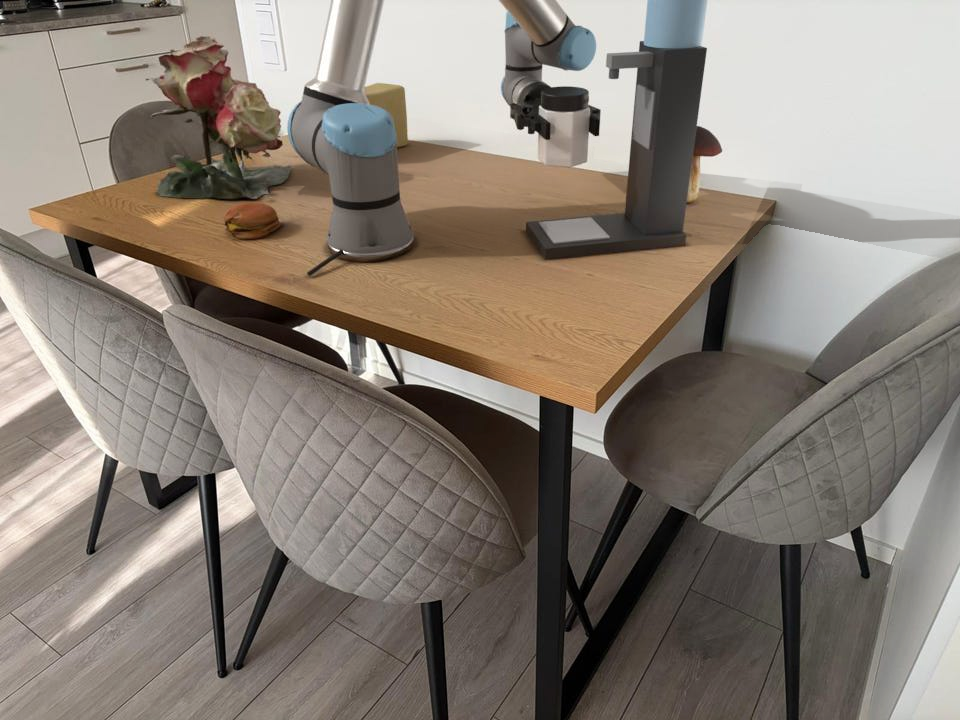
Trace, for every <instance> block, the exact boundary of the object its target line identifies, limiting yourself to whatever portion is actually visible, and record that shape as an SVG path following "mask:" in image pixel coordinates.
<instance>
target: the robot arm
mask: <svg viewBox="0 0 960 720" xmlns="http://www.w3.org/2000/svg"><path fill="white" fill-rule="evenodd" d="M384 2H385V0H331V1H330V5H329V9H328V14H327V19H326V25H325V30H324V33H323V34H324V35H323V39H322V44H321V50H320V54H319V60H318V64H317V69H316V74H315V77H314V78H312V79H311V80H309V81H307V82H306V83H304V87H303V92H302V97H301V100H300V101H299V102H298V103H297V104H296V105H294V107H293V108H292V110H291V112H290V114H289V116H288V120H287V127H286V128H287V129H286V130H287V137H288V140H289V142H290V145H291V147H292V148H293V150H294V151H295V153H296V154H297V155H298V156H300V158H301V159H302V160H303V161H304V162H305V163H306V164H308V165H310V166H311V167H314V168H316V169H318V170H320V171H322V172H323V173H325V174H327V175H328V177H329V183H330V184H329V185H330V192H331V200H332V211H331V215H330V216H331V217H330V221H329V230H328V232H327V238H326V243H327V249H328V252H329V254H331V255H330V256H329V257H327V258H326V259H324V260H323V261H321V262H320V263H318V264H317V265H315V266H314V267H312V268H311V269H310V270H308V271H307V273H306V274H307V276H308V277H312V276H313V275H314V274H315V273H317V272H319V270H321V269H322V268H325V266H327V265H328V264H329V263H331V262H332V261H334V260H335V259H337V258H338V259H340V260H344V261H349V262H359V263H360V262H361V263H363V262H364V263H365V262H366V263H368V262H379V261H384V260H390V259H393V258H396V257H399V256H401V255H404V254H405V253H407V252H409V251H410V250H411V249H412V248H413V247H414V245H415V238H414V232H413V228H412V226H411V224H409V222H408V217H407V215H406V212H405V209H404V207H403V204H402V202H401V191H400V177H399V174H400V173H399V163H398V162H399V161H398V148H397V147H396V142H397V136H396V131H395V127H394V122H393V119H392V117H391V115H390V114H389V113H388V112H387V111H386V110H384V109H382V108H380V107H378V106H374V105H370V103H369V101H368V99H367V97H366V95H365V94H364V88H365V87H366V82H367V79H368V74H369V70H370V65H371V61H372V56H373V51H374V47H375V43H376V38H377V34H378V30H379V25H380V21H381V17H382V12H383V7H384V4H385V3H384ZM498 2H499V3H500V4H501V5H502V6H503V7H504V9H505V10H506V13H505V28H504V45H505V47H504V48H505V52H504V53H505V64H504V65H505V68H504V76H503V78H502V81H501V82H500V92H501V95H502V98H503V99H504V101H505V102H506V104H507V105H508V106H509V117H510V119H512V120H513V121H514V123H515V127H516V129H517V130H518V131H522V130H524V129H525V128H527V134H528V135H535V134H536V133H537V134H538V133H539V134H540V135H541V136H542V137H543V138H544V139H545V140H550V126H551V123H550V122H548V121H547V120H546V119H544V118H543V117H542V116H541V115H539V106H540V105H541V91H542V90H544V89H546V88H551V87H552V86H551V85H549V84H548V83H546V82H544V81H543V65H544V66H547V67H548V66H549V67H552V68H557V69H561V70H563V71H565V72H566V71H573V72H580V71H583V70H585V69H586V68H588V67H589V66H590V64H591V63H592V62H593V60H594V58H595V55H596V52H597V41H596V37H595V34H594V33H593V32H592V30H590V29H589V28H587V27H584V26H582V25H576V24H575V23H574V22H573V21H572V19H571V18H570V17H569V16H568V15H567V13H566V12H565V11H564V9H563V8H562V6H561V5H560V4H559V2H558V1H557V0H498ZM588 107H589V108H590V121H589V134H591V135H592V136H594V137H600V127H601V114H602V113H601V111H602V110H601V108H598V107H595V106H592V105H591V104H588Z"/></svg>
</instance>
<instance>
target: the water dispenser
mask: <svg viewBox="0 0 960 720" xmlns="http://www.w3.org/2000/svg"><path fill="white" fill-rule="evenodd" d="M707 6H708V0H647V3H646V14H645V26H644V36H643V40H640V41H639V45H638V46H639V47H638V51H627V52H609V53H606V60H605V67H606V68H608V79H610V80H618V79H619V78H620V70H622V69H636V79H635V80H636V82H635V90H634V91H635V92H634V102H633V103H634V104H633V114H632V125H631V136H630V137H631V138H630V149H629V160H628V173H627V184H626V195H625V196H626V197H625V205H624V212H618V213H605V214H595V215H585V216H574V217H573V216H572V217H564V218H563V217H562V218H554V219H542V220H531V221H525V233H526V235H527V236H528V238H529V239H530V240H531V242H532V244H533V245H534V246H535V248H536V249H537V250H538V252H539V253H540V254H541V256H542V257H543V259H544V260H554V259H564V258H573V257H585V256H594V255H601V254H602V255H603V254H604V255H605V254H614V253H623V252H632V251H641V250H642V251H644V250H652V249H663V248H670V247H672V248H673V247H680V246H681V247H682V246H686V243H687V242H686V241H687V234H686V232H684V226H685V225H684V224H685V219H686V218H685V217H686V212H687V211H686V210H687V203H688V202H687V196H688V188H689V180H690V173H691V165H692V158H693V150H694V143H695V135H696V128H697V126H698V119H699V111H700V105H701V104H700V103H701V98H702V89H703V81H704V74H705V67H706V59H707V51H708V47H705V46H703V38H704V29H705V21H706V14H707Z"/></svg>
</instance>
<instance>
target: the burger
mask: <svg viewBox="0 0 960 720" xmlns="http://www.w3.org/2000/svg"><path fill="white" fill-rule="evenodd" d="M222 219H223V220H224V226H225V230H224V231H225V232H228V233H229V235H230V236H235V238H236V239H239V240H255V239H261V238H264V237H266V236H267V235H269V234H270V233H272V232H275V231H277V229H279V228H280V227H281V223H280V219H279V216H278V213H277V211H276V209H275V208H274V207H272V206H271V205H268V204H266V203H263V202H255V201H253V202H252V201H251V202H245V203H240V204H237V205H235V206H233V207H230V208H229V209H228V210H226V211H225V212H224V214H223V218H222Z"/></svg>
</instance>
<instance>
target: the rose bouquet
mask: <svg viewBox="0 0 960 720" xmlns="http://www.w3.org/2000/svg"><path fill="white" fill-rule="evenodd" d="M224 47H225V45H223V44H221V43H219V42H218V41H217V40H216V37H213V36H208V35H200V36H199V37H196V38H195V40H191V41H190V42H188V43H186V44H184V45H183V47H182V48H181V49H179V50H175V49H174V48H172V49H170V50H169V52H170V54H167V53H166V54H162V55H159V56H158V57H157V58H158V62H159V65H160V66H162V67H163V68H164V71H163V73H164V74H163V75H159V77H156V78H153V77H152V78H151V77H150V78H145V81H151V82H153V83H154V84H155V85H156V86H157V87H158V88H159V89H160V91H161V92H162V94H163V95H164V97H166V98H167V99H168V100H169V101H171V102H172V103H173V104H174V105H175V106H177V105H178V106H179V107H178V108H173V109H164V110H163V109H162V110H160V111H157V112H155V113H152V114H151V115H150V117H151V118H156V117H159V116H180V115H184V114H187V113H189V112H191V113H195V114H196V116H195V118H198V117H199V118H200V120H201V121H200V122H201V127H202V134H201V136H202V137H201V138H202V147H203V151H204V157H205V161H206V162H205V163H202V162H201V161H198V160H194V159H190V158H189V157H187V156H186V155H179V154H173V155H172V156H171V157H170V160H171V161H173V162H174V164H175V167H176V168H177V169H179V170H178V171H176V170H171V171H169V172H168V173H167V174H166V175H165V176H164V177H163V178H161V179H160V180H158V181H157V190H156V192H155V193H156V194H157V195H159V196H161V197H165V198H166V197H167V198H177V199H200V200H203V199H204V198H206V199H207V198H208V199H209V198H215V199H223V200H241V199H246V198H248V199H252V200H257V199H258V198H260V197H261V196H262V195H263V196H264V195H270V193H269V190H268V189H269V188H268V187H273V186H276V185H281V184H283V183H284V182H285V181H286V180H288V178H289V176H290V172H291V169H292V165H286V166H282V165H277V164H274V165H273V166H264V167H250V168H249V167H246V166H245V163H244V160H243V156H244V157H245V160H247V159H250V160H251V161H252V163H253V164H255V161H254V160H253V158H252V157H251V156H250V155H249V154H258V153H261V152H263V153H264V154H262V157H264V158H270V157H271V154H270V152H267V151H277V150H279V149H280V148H281V147H282V146H283V145H284V144H283V141H282V140H281V139H279V138H281V136H280V135H279V134H280V132H281V128H282V125H281V122H282V119H281V118H280V115H281V114H282V113H281V111H280V110H279V109H278V108H274V107H271V106H270V103H269V101H268V100H267V98H266V96H265V94H264V91H263V90H262V89H261V88H259V87H258V85H257V83H256V82H250V81H241V80H239V79H237V78H232V73H231V72H232V68H231V66H229V65H228V66H226V65H225V64H226V63H227V60H228V55H229V50H227V49H222V48H224ZM193 122H194V121H193V118H187V119H185V120H184V123H186V124H187V123H189V124H190V123H193ZM216 148H218V149H219V150H220V152H221V159H220V160H214V159H213V158H212V152H213V151H214V150H215V149H216ZM237 156H238V157H237ZM238 158H239V160H240V163H239V161H238Z"/></svg>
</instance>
